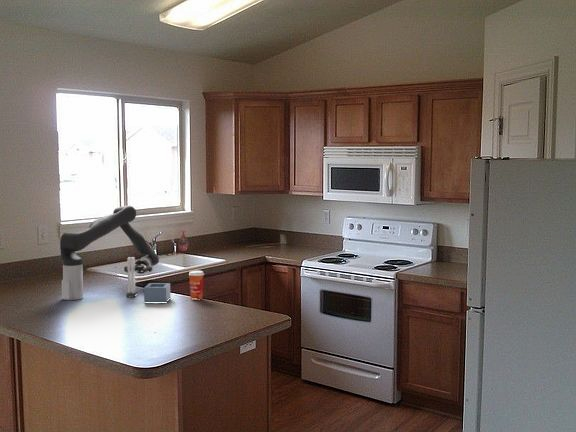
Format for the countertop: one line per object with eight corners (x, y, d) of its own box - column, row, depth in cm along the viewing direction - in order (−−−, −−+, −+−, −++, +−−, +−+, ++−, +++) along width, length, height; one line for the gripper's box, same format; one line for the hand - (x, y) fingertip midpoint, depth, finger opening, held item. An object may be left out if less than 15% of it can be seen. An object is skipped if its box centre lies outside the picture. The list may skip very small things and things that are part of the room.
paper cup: (185, 299, 314) (185, 272, 313) (194, 296, 321) (194, 269, 320) (198, 301, 310) (198, 273, 309) (207, 298, 317) (207, 271, 316)
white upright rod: (126, 297, 319) (125, 258, 317) (128, 295, 323) (127, 256, 322) (134, 297, 319) (134, 258, 317) (137, 295, 323) (136, 256, 322)
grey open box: (166, 303, 305) (166, 287, 304) (144, 303, 305) (144, 287, 304) (170, 299, 316) (170, 283, 315) (149, 298, 316) (149, 283, 315)
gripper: (129, 258, 345) (121, 263, 329) (155, 258, 345) (148, 263, 329) (129, 272, 345) (121, 277, 329) (155, 272, 345) (149, 278, 329)
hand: (135, 270), depth 329 cm, fingers open, 8 cm apart
